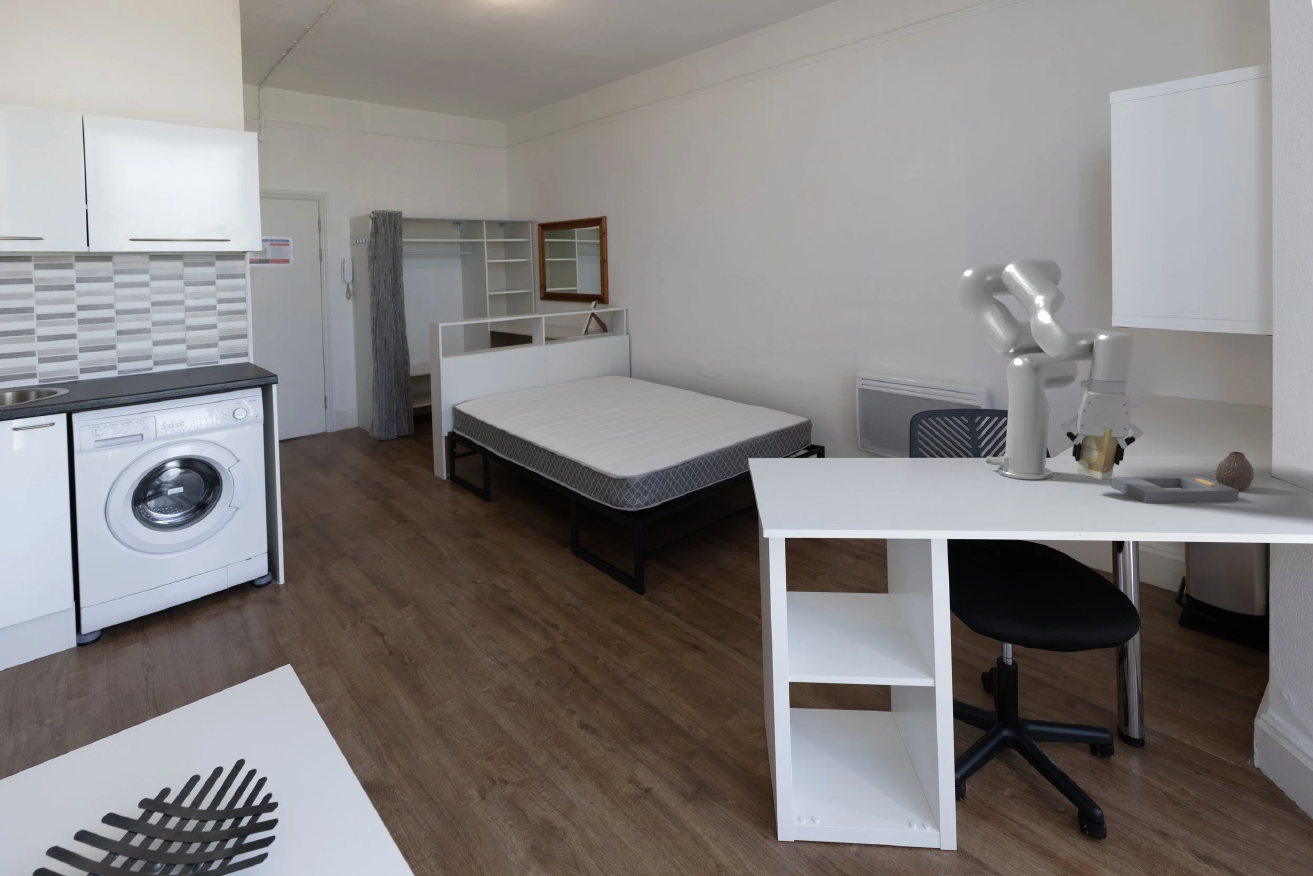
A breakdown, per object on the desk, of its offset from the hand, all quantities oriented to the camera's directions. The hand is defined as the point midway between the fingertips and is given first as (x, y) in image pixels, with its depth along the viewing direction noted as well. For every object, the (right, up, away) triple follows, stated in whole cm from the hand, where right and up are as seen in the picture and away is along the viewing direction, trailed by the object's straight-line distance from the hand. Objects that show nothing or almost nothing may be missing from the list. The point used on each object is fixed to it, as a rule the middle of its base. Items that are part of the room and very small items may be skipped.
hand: (1096, 461), depth 166 cm
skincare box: (0, -3, +1) cm, 4 cm away
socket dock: (+18, -8, 0) cm, 19 cm away
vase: (+34, -7, +2) cm, 34 cm away
